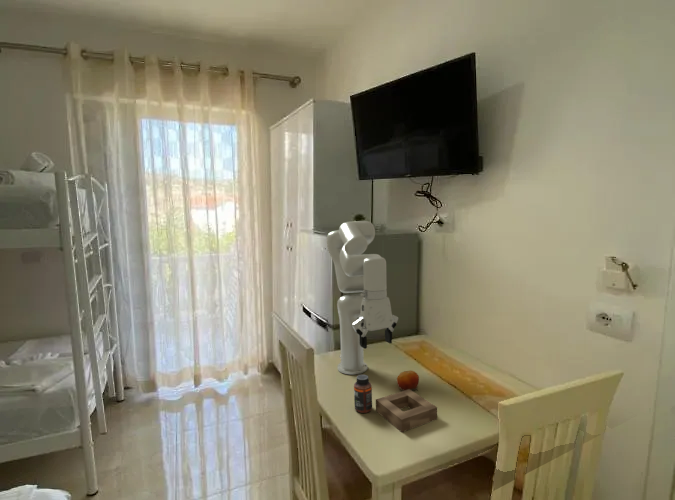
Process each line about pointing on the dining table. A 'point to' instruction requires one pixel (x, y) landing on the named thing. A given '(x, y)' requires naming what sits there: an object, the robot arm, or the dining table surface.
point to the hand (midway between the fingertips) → (376, 344)
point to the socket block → (411, 418)
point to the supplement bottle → (363, 394)
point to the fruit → (408, 380)
